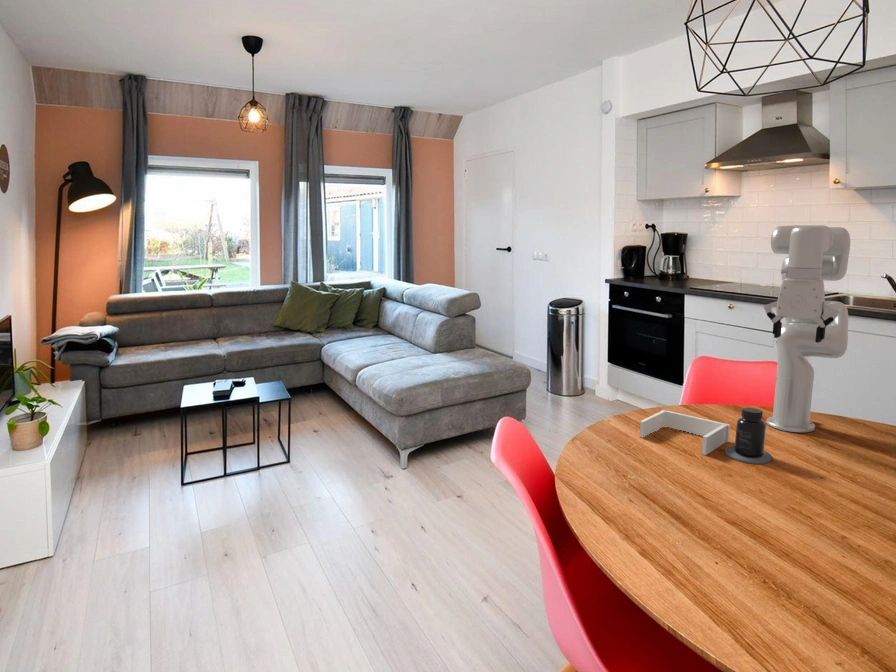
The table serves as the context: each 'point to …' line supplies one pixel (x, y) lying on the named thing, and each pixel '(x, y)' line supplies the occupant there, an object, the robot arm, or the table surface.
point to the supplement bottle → (750, 433)
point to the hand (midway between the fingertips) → (797, 339)
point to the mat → (760, 460)
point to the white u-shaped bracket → (689, 428)
